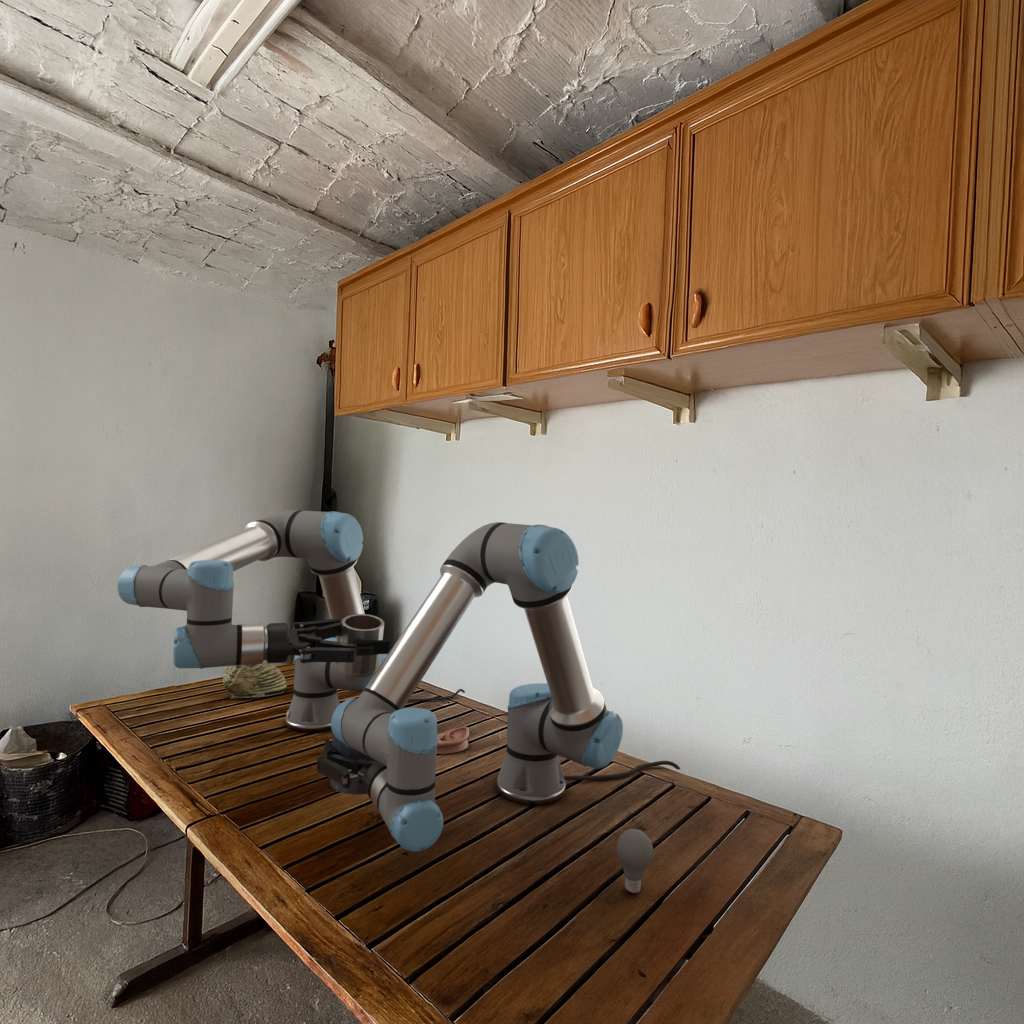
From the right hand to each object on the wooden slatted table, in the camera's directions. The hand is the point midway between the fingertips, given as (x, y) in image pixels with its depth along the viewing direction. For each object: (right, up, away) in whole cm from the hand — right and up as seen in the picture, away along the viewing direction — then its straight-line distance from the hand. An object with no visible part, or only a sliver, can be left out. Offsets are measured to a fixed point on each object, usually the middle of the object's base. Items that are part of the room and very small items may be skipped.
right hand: (358, 741), depth 126 cm
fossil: (-50, -11, +72) cm, 88 cm away
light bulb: (+51, -18, -21) cm, 58 cm away
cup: (-1, +14, +3) cm, 14 cm away
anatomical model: (+12, -15, +37) cm, 42 cm away
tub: (+1, -7, -3) cm, 7 cm away
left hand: (+4, +20, +4) cm, 21 cm away
